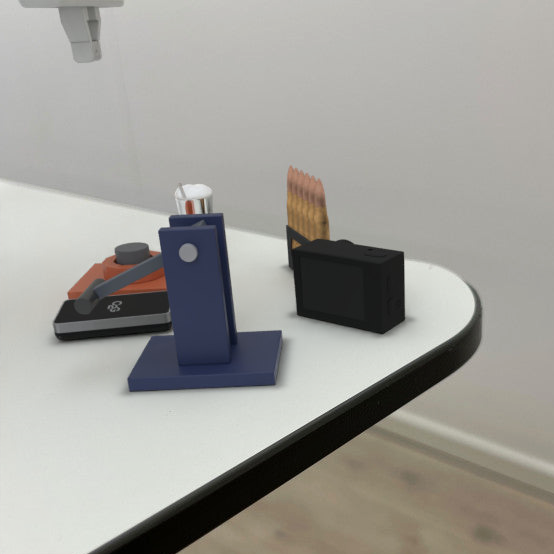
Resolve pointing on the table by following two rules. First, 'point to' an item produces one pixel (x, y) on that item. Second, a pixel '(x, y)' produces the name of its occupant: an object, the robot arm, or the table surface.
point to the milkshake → (194, 199)
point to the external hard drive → (115, 316)
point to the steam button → (132, 253)
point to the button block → (112, 269)
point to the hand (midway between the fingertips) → (88, 61)
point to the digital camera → (350, 284)
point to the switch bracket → (203, 318)
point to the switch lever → (118, 281)
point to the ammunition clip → (305, 211)
